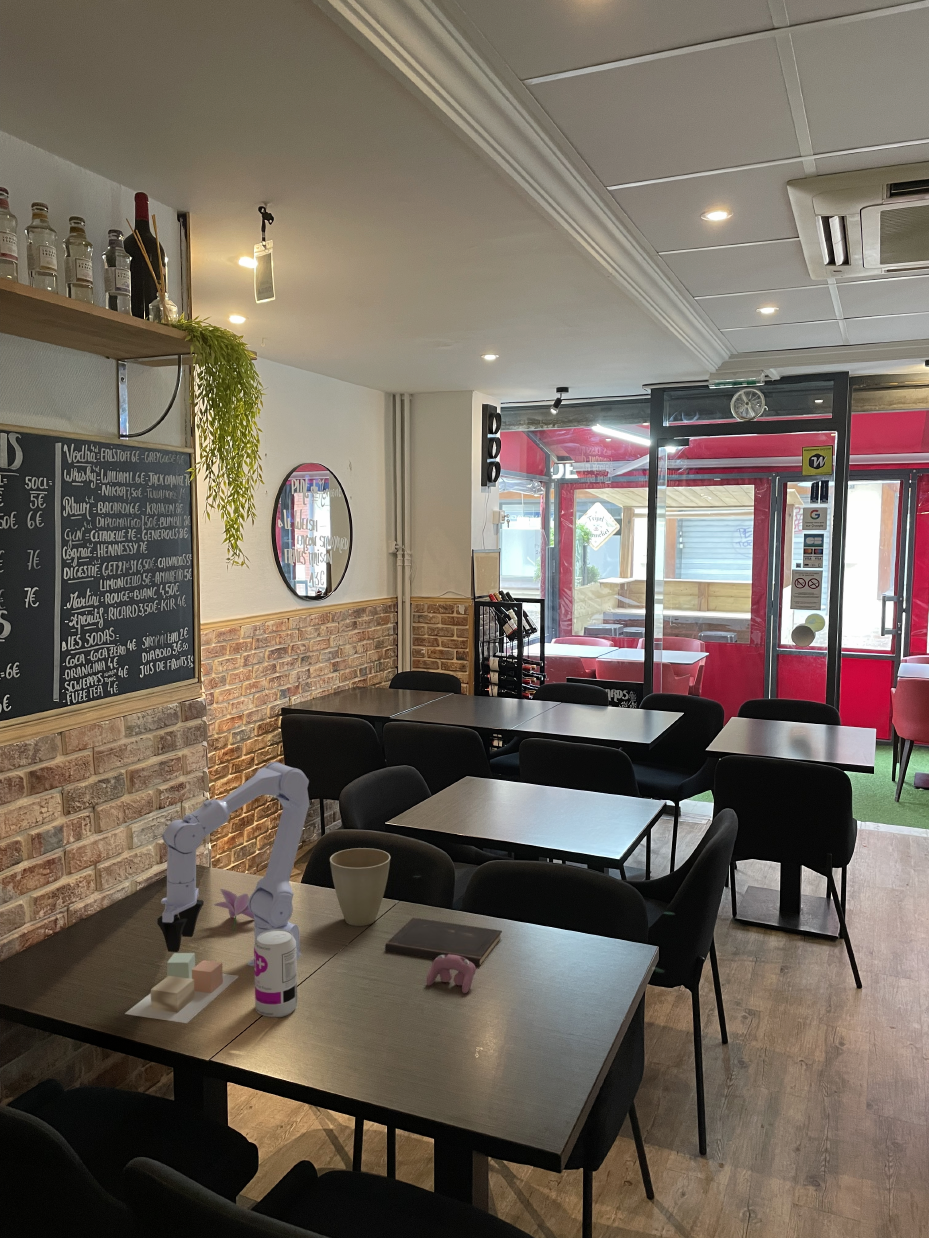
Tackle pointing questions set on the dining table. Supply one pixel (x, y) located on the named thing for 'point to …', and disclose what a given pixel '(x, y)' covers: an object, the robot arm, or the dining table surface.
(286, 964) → the supplement can
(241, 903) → the lily
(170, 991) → the birch base block
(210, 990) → the terracotta block
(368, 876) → the plant pot
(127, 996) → the dining table surface
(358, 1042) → the dining table surface
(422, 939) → the hardcover book
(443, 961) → the video game controller
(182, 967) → the sage block
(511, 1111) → the dining table surface
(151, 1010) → the mat
